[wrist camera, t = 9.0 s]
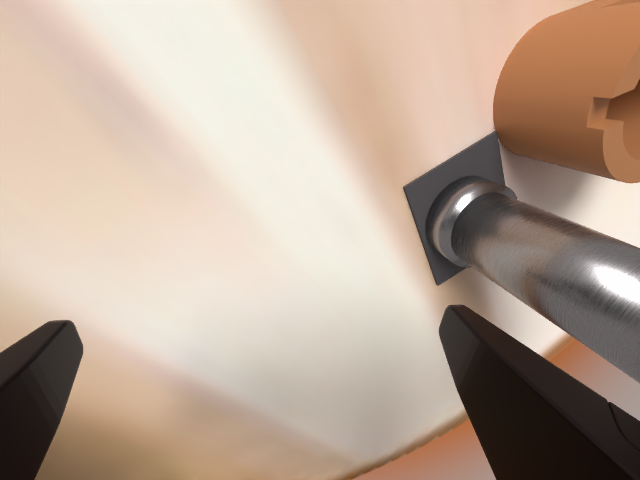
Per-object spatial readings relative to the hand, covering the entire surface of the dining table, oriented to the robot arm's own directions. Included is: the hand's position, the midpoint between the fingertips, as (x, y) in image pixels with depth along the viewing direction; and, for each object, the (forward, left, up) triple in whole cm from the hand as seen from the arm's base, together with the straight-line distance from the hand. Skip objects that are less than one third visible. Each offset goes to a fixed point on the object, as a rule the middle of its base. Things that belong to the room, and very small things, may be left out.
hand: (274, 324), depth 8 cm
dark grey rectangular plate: (+13, -10, -11) cm, 20 cm away
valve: (+12, -10, -11) cm, 19 cm away
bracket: (+25, -6, -12) cm, 28 cm away
